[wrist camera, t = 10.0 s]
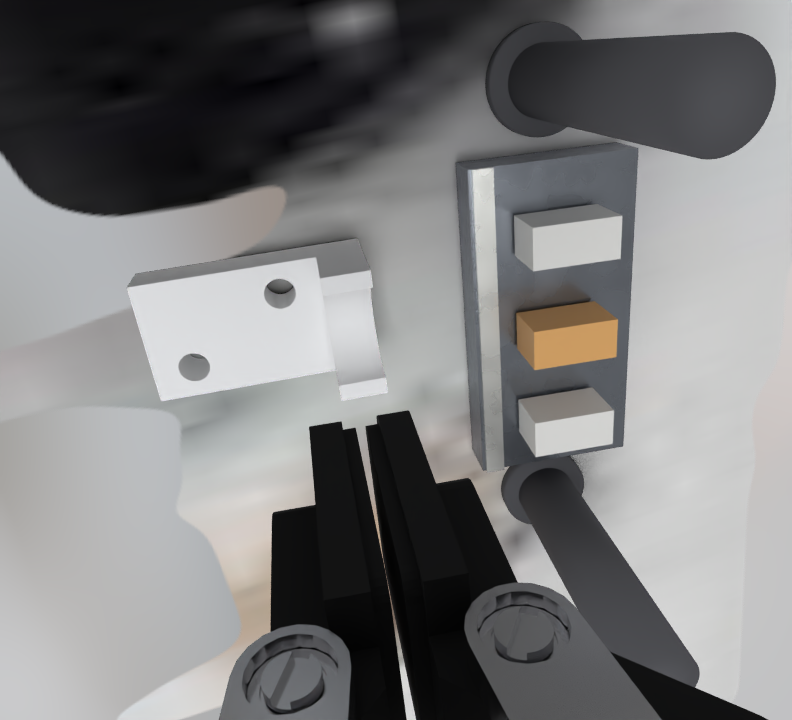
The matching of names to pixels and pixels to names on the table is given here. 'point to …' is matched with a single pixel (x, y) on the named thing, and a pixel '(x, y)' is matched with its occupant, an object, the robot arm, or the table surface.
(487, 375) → the breaker panel
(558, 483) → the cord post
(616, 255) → the paddle
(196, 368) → the bracket
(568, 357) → the block
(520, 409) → the white rectangular block
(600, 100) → the post
